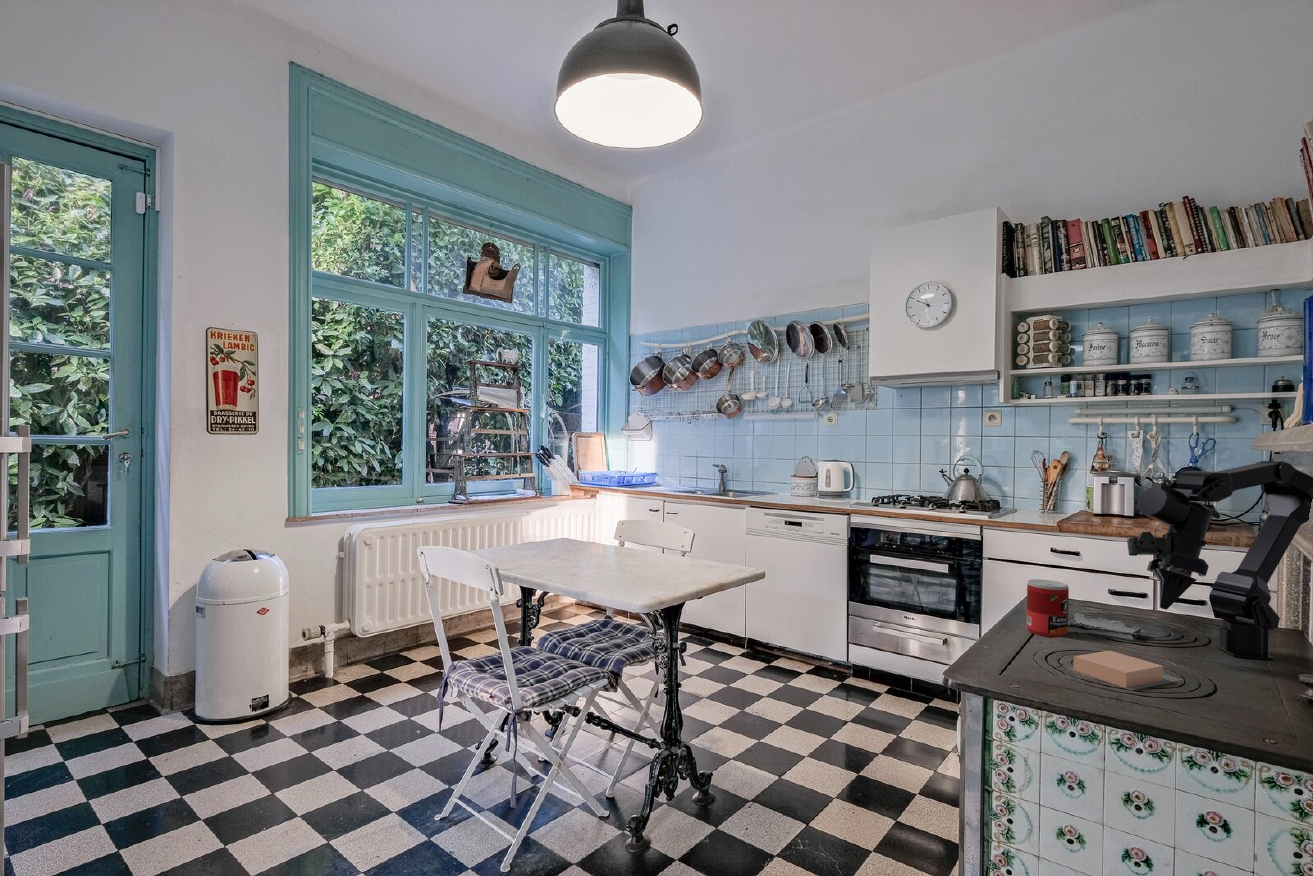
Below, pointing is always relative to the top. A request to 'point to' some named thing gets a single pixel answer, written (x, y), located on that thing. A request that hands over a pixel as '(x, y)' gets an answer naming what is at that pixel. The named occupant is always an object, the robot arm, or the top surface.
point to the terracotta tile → (1118, 668)
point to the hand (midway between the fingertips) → (1163, 608)
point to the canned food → (1047, 608)
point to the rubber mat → (1165, 680)
